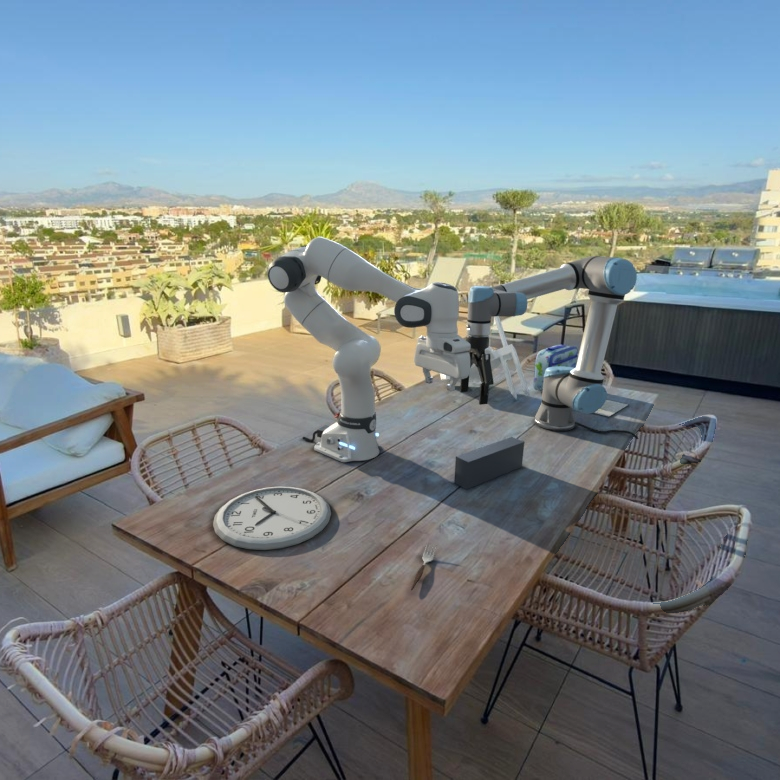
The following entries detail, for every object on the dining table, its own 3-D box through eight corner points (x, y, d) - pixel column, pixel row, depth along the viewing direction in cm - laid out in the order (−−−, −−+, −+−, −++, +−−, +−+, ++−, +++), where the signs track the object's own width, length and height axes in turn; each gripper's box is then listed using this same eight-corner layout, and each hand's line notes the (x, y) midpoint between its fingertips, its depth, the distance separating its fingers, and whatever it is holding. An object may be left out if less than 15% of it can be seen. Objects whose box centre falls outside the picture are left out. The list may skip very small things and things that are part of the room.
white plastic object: (461, 429, 252) (437, 405, 227) (444, 352, 274) (420, 323, 250) (535, 404, 240) (518, 377, 215) (510, 326, 262) (492, 293, 237)
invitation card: (608, 416, 214) (573, 407, 224) (608, 416, 214) (573, 408, 224) (628, 404, 229) (594, 396, 238) (628, 405, 229) (594, 397, 238)
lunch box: (550, 397, 237) (555, 352, 231) (529, 391, 245) (533, 348, 238) (577, 386, 255) (582, 344, 249) (556, 381, 262) (561, 340, 256)
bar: (509, 461, 172) (511, 436, 169) (521, 466, 168) (524, 441, 165) (454, 482, 157) (455, 456, 154) (466, 489, 153) (468, 462, 150)
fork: (405, 590, 110) (405, 582, 109) (426, 549, 124) (426, 541, 123) (417, 593, 109) (417, 585, 108) (437, 551, 123) (437, 544, 122)
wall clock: (329, 541, 123) (198, 546, 121) (329, 547, 124) (199, 552, 121) (332, 482, 152) (226, 484, 149) (332, 487, 152) (226, 489, 150)
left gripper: (409, 335, 156) (408, 380, 160) (459, 348, 140) (456, 397, 145) (425, 333, 160) (424, 376, 164) (475, 345, 144) (471, 393, 148)
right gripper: (450, 328, 179) (447, 387, 185) (486, 343, 156) (481, 410, 162) (470, 327, 181) (466, 386, 187) (508, 342, 158) (502, 408, 165)
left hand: (439, 386), depth 154 cm, fingers open, 8 cm apart
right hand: (473, 397), depth 175 cm, fingers open, 13 cm apart
